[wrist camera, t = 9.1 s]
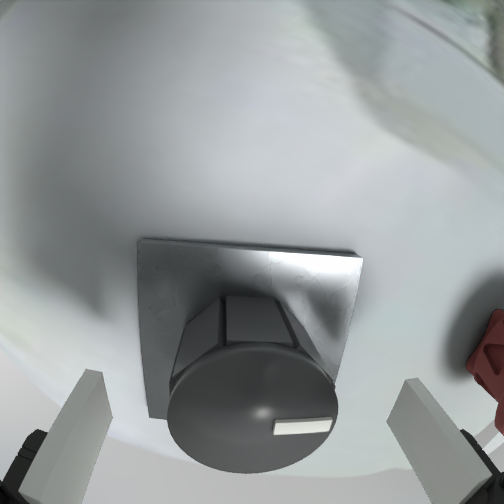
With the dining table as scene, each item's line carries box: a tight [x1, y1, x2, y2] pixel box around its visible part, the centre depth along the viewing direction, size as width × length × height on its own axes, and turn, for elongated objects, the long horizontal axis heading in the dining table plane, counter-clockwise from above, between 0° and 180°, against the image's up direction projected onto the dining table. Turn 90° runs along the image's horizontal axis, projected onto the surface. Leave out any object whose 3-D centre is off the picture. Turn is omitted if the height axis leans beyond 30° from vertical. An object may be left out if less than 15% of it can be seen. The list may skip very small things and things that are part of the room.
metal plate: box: [137, 238, 363, 420], centre depth 15 cm, size 12×12×5 cm
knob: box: [167, 295, 338, 474], centre depth 14 cm, size 7×7×6 cm
